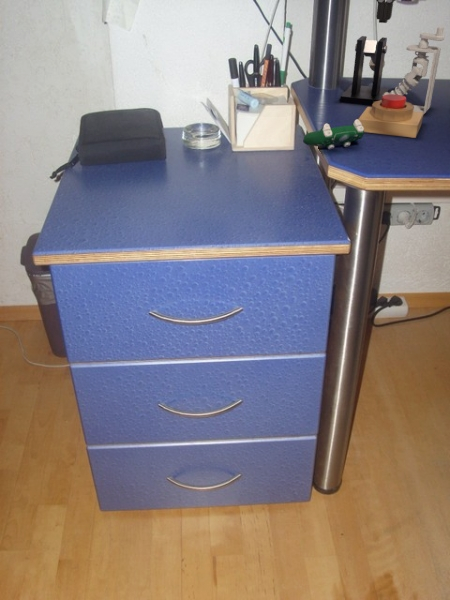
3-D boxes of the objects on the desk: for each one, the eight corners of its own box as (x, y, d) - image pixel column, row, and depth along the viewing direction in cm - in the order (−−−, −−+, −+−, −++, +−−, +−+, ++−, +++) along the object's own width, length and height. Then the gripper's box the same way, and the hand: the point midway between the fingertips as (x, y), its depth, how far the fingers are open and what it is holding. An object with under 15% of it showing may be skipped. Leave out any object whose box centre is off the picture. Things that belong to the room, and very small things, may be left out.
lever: (368, 72, 129) (371, 57, 128) (383, 73, 128) (386, 58, 127) (360, 54, 116) (363, 37, 115) (376, 55, 115) (380, 38, 114)
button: (406, 105, 104) (407, 95, 103) (402, 111, 101) (404, 101, 100) (383, 103, 105) (384, 93, 105) (379, 109, 102) (380, 99, 101)
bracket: (350, 90, 127) (357, 33, 121) (388, 93, 124) (397, 35, 118) (340, 102, 119) (346, 41, 113) (380, 106, 117) (388, 44, 110)
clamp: (384, 103, 118) (396, 21, 110) (433, 109, 115) (449, 24, 106) (378, 108, 115) (390, 24, 107) (428, 115, 112) (444, 28, 103)
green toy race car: (307, 159, 98) (321, 142, 92) (300, 138, 98) (314, 119, 92) (356, 151, 100) (373, 134, 94) (349, 131, 101) (365, 112, 95)
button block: (421, 124, 107) (425, 102, 105) (415, 138, 101) (419, 114, 98) (366, 118, 110) (368, 96, 108) (356, 131, 104) (359, 108, 102)
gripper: (356, -77, 112) (347, 23, 122) (429, -77, 108) (413, 26, 117) (364, -78, 118) (355, 18, 127) (434, -78, 114) (418, 21, 123)
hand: (383, 22), depth 122 cm, fingers closed
